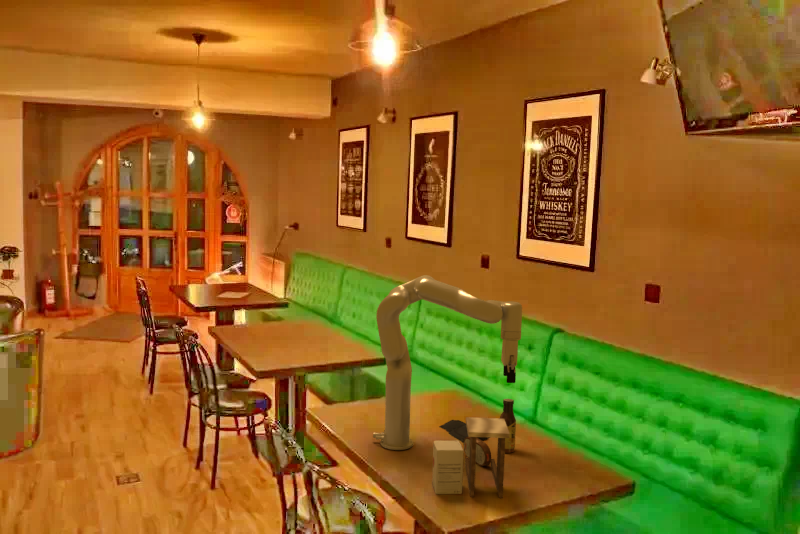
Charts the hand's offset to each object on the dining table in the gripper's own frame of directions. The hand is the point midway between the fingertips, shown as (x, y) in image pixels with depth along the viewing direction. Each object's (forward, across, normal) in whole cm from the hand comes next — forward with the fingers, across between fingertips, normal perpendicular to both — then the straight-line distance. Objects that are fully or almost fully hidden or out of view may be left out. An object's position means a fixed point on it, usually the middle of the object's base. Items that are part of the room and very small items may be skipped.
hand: (509, 379), depth 259 cm
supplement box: (+28, +36, -24) cm, 51 cm away
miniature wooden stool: (+28, +34, -12) cm, 46 cm away
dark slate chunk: (+29, -18, -15) cm, 37 cm away
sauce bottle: (+28, -1, 0) cm, 28 cm away
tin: (+28, +11, -12) cm, 33 cm away
